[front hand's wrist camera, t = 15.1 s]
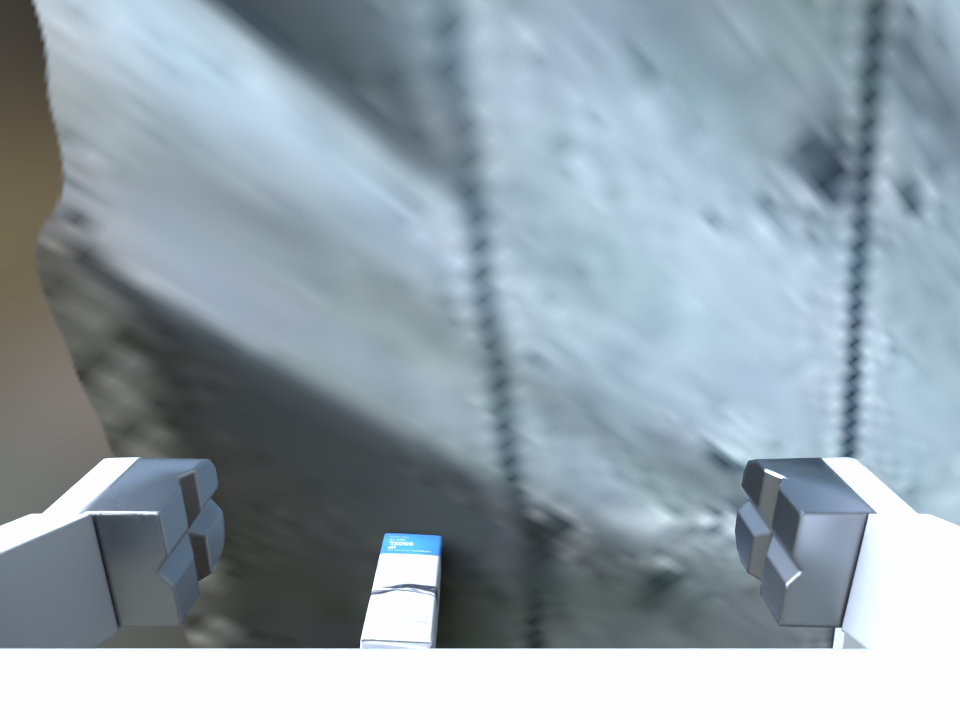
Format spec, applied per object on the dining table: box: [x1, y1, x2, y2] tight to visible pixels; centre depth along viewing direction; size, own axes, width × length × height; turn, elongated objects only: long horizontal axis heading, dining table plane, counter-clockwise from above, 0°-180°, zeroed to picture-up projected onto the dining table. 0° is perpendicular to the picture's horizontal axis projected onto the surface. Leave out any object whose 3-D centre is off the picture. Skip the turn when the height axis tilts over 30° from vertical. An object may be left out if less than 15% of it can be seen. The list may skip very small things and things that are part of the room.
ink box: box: [361, 534, 442, 649], centre depth 49 cm, size 8×5×12 cm, turn 176°
